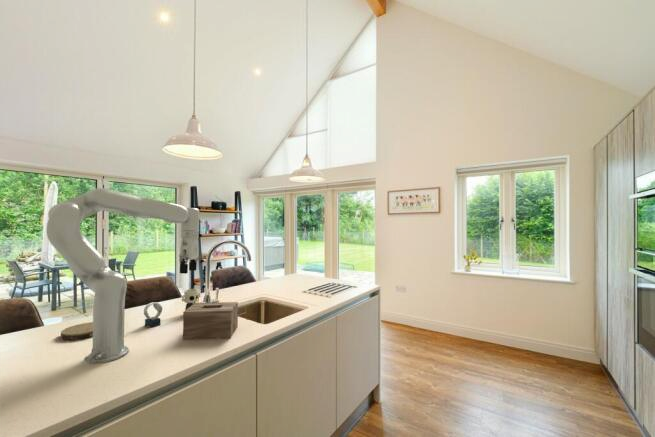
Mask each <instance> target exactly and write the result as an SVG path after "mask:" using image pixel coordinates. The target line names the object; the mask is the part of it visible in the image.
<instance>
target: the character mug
mask: <svg viewBox="0 0 655 437" xmlns="http://www.w3.org/2000/svg"><path fill="white" fill-rule="evenodd" d="M200 298H201V291H199V289H198V288H190V289H186V290H184V294H183V295H182V296H181V301H182V302H184V303H185V309H184V311H185V310H186V309H188V308H189V307H190V306H192V305H193V304H194V303H198V301H199V299H200Z"/></svg>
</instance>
